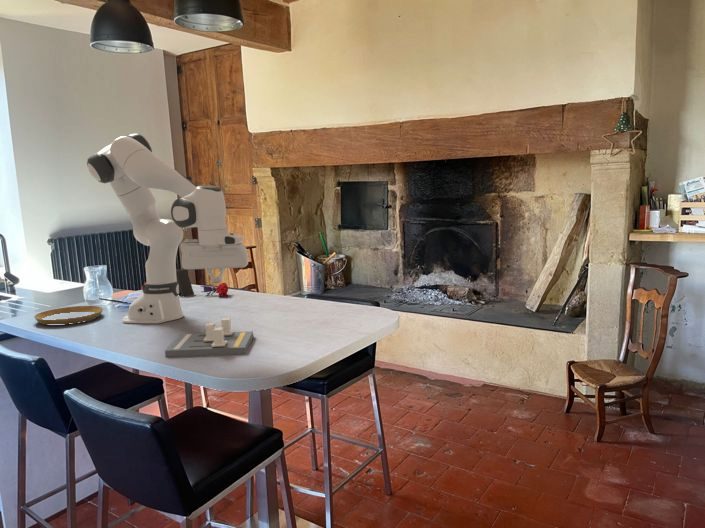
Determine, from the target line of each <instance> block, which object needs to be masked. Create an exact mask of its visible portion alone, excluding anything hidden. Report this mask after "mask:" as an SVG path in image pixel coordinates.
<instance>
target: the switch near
mask: <svg viewBox="0 0 705 528" xmlns="http://www.w3.org/2000/svg"><path fill="white" fill-rule="evenodd" d="M213 331H214V342H213V344H212V345H211V347H219V346H225V345H226V343H227V341H224V331H223V327H222V326H221V327H220V326H219V327H215V329H214V330H213Z"/></svg>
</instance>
